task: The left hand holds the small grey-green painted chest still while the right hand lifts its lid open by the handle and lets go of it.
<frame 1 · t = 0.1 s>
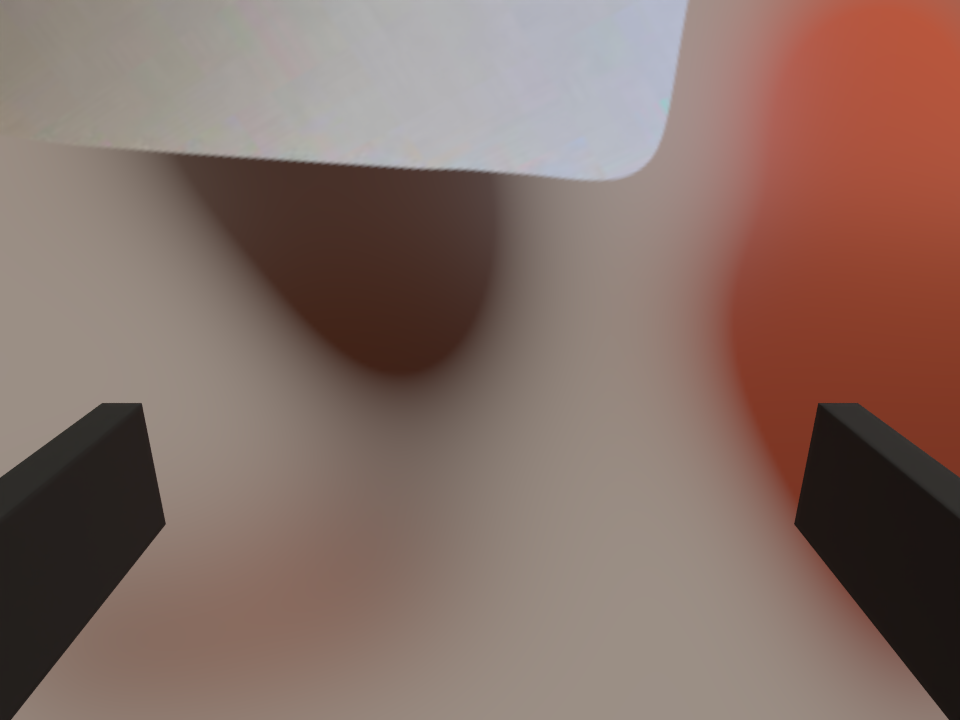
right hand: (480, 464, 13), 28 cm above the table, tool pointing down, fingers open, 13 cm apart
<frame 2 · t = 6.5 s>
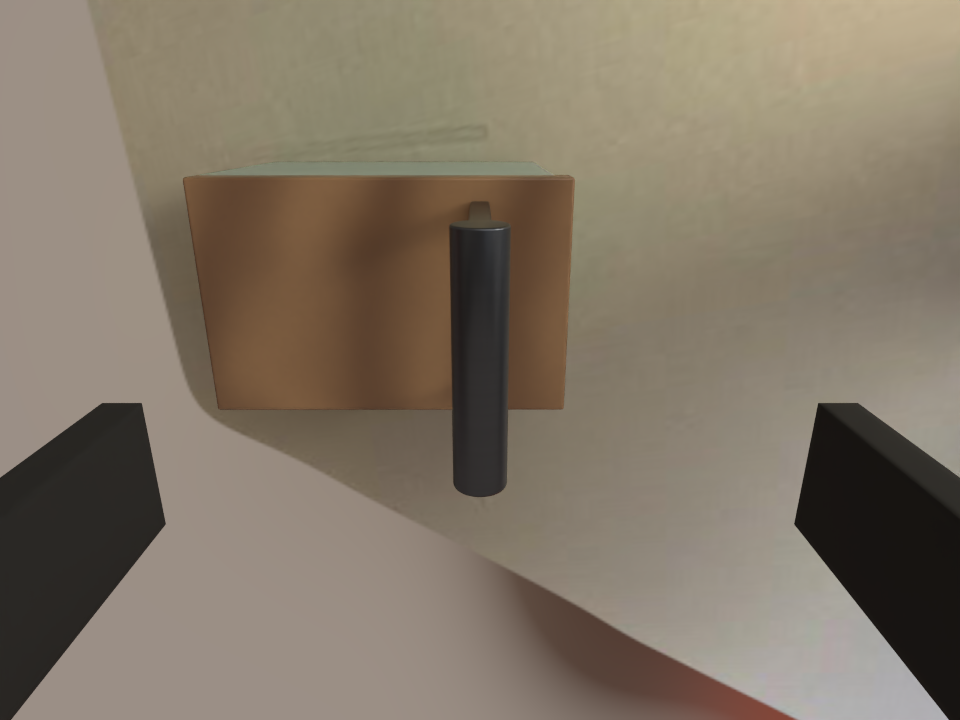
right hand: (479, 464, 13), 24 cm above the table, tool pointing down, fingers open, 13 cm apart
lid: (371, 325, 21), point 14 cm above the table, hinge at 0.0°
chest: (407, 249, 35), on the table
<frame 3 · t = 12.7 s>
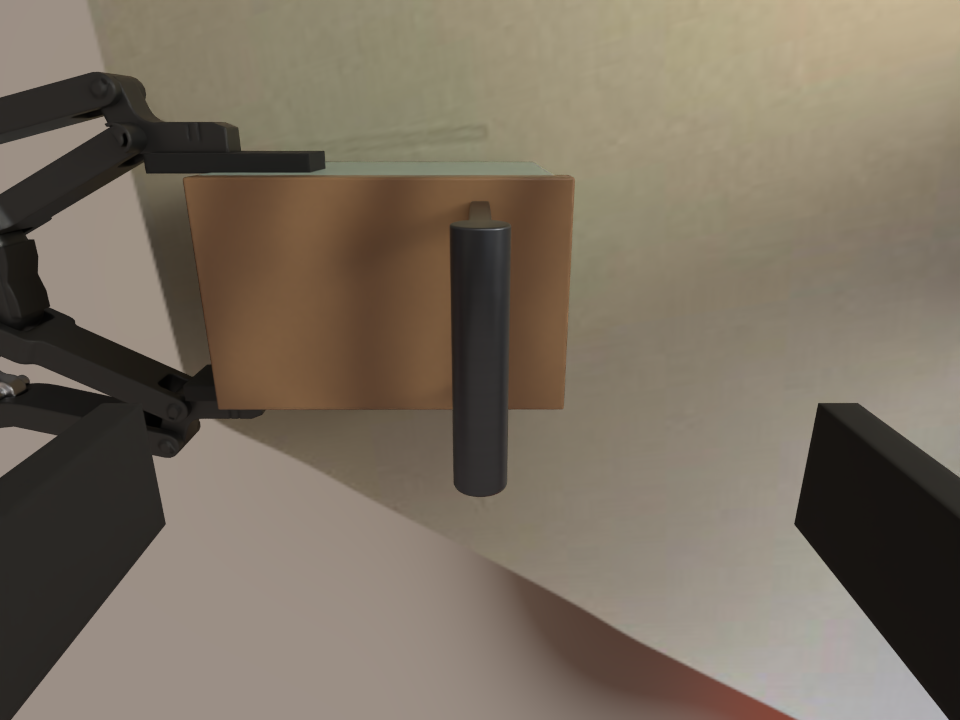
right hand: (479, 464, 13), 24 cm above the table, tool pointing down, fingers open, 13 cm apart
lid: (372, 325, 21), point 14 cm above the table, hinge at 0.0°
chest: (407, 249, 35), on the table, touching left hand
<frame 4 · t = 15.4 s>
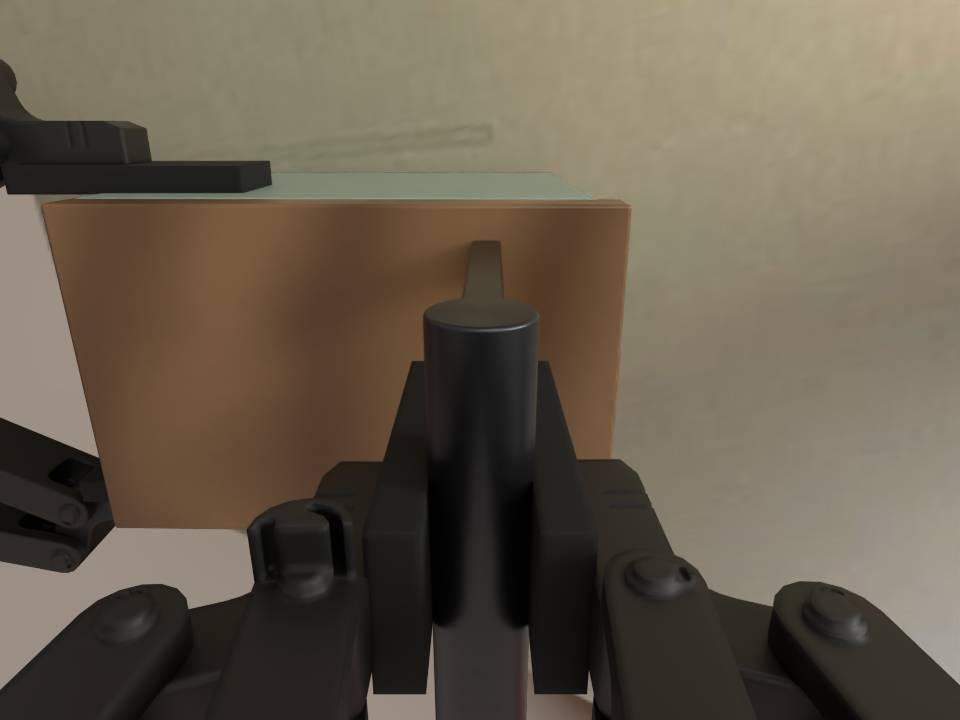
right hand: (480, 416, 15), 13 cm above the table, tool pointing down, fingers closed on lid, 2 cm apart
lid: (314, 439, 14), point 14 cm above the table, hinge at 1.6°, touching right hand
chest: (390, 284, 27), on the table, touching left hand
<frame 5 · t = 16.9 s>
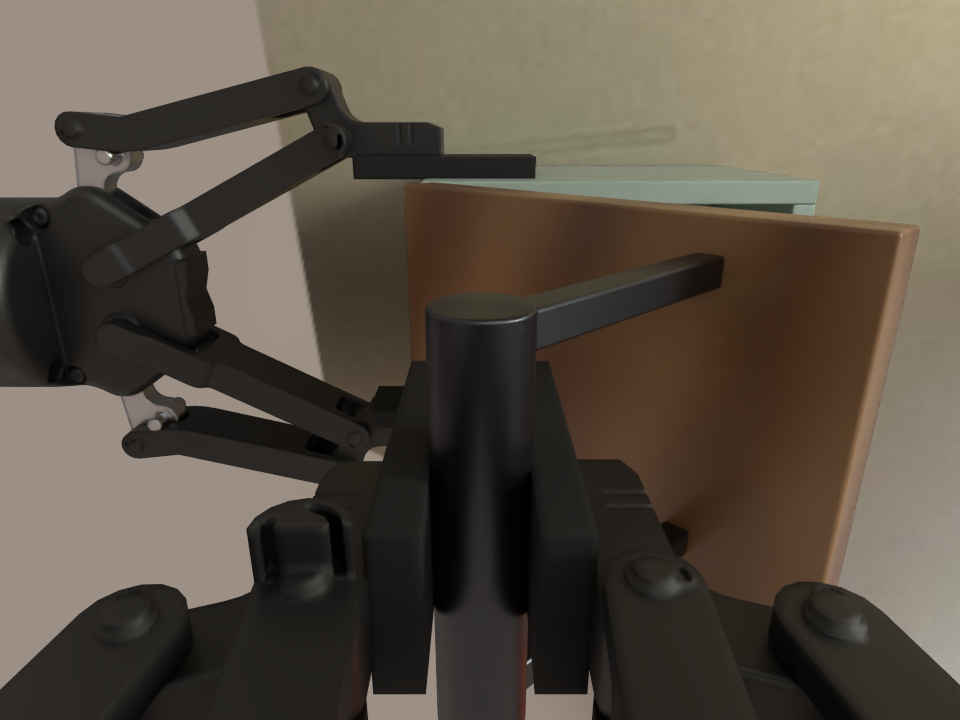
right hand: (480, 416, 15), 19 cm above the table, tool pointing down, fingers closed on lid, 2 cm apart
left hand: (529, 293, 26), fingers closed on chest, 9 cm apart
lid: (485, 406, 15), point 18 cm above the table, hinge at 46.0°, touching right hand
chest: (574, 259, 32), on the table, touching left hand
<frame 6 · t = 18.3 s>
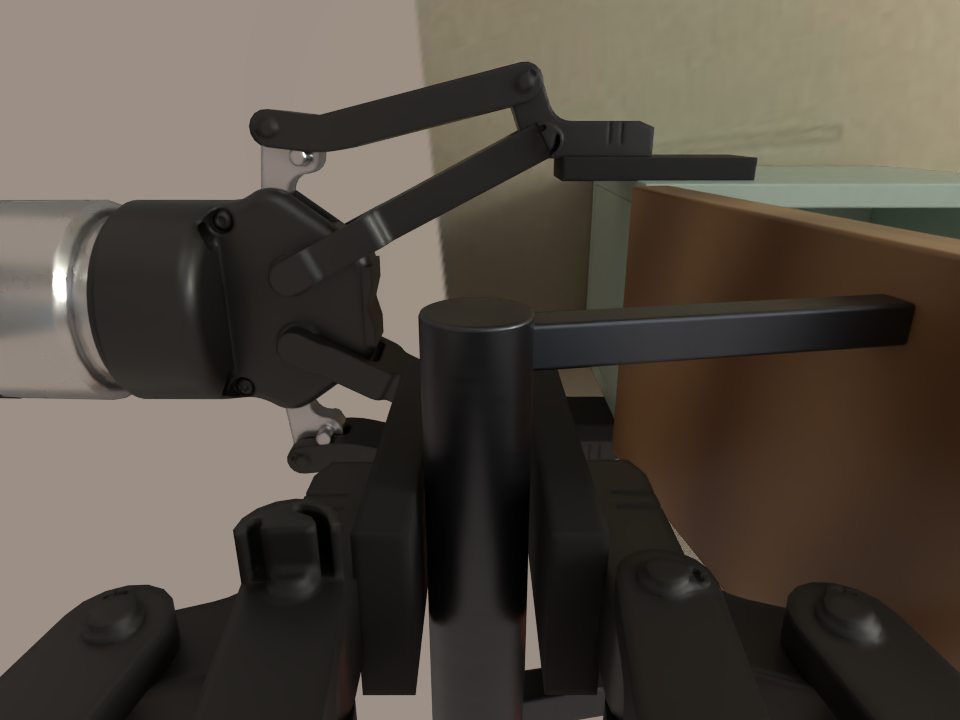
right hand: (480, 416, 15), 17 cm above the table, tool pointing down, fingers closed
left hand: (722, 301, 24), fingers closed on chest, 9 cm apart
lid: (608, 428, 14), point 18 cm above the table, hinge at 79.3°
chest: (727, 264, 31), on the table, touching left hand
when the left hand's fingers open (7 cm above the table, at t = 22.6 s): chest stays where it is, on the table.
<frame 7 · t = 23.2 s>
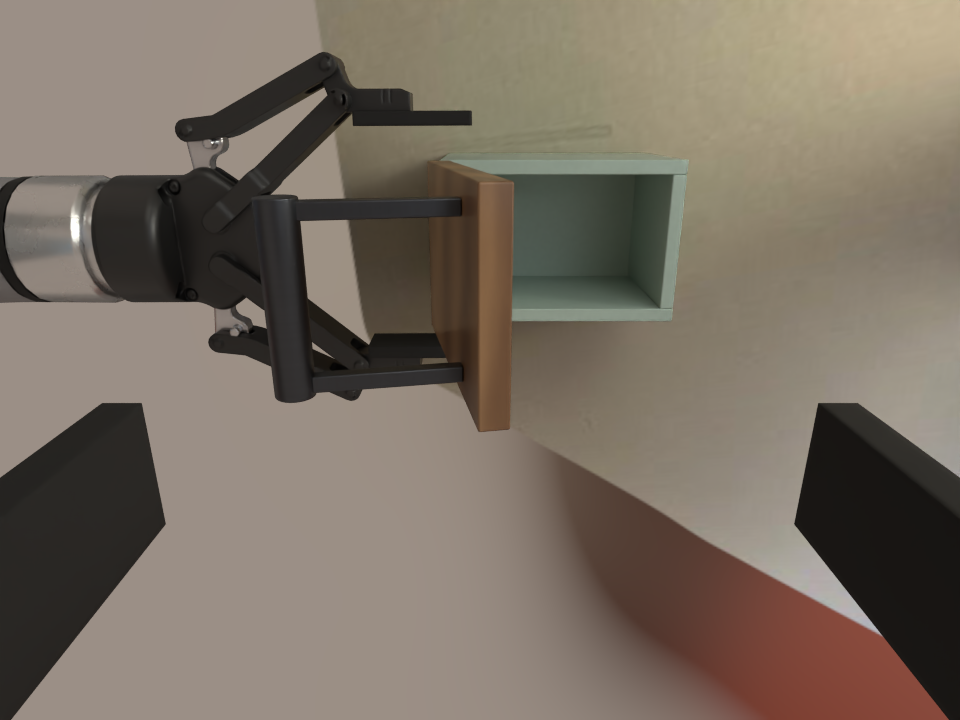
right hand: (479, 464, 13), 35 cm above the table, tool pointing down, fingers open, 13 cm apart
left hand: (473, 238, 39), fingers open, 13 cm apart
lid: (377, 276, 28), point 18 cm above the table, hinge at 78.7°
chest: (544, 220, 45), on the table
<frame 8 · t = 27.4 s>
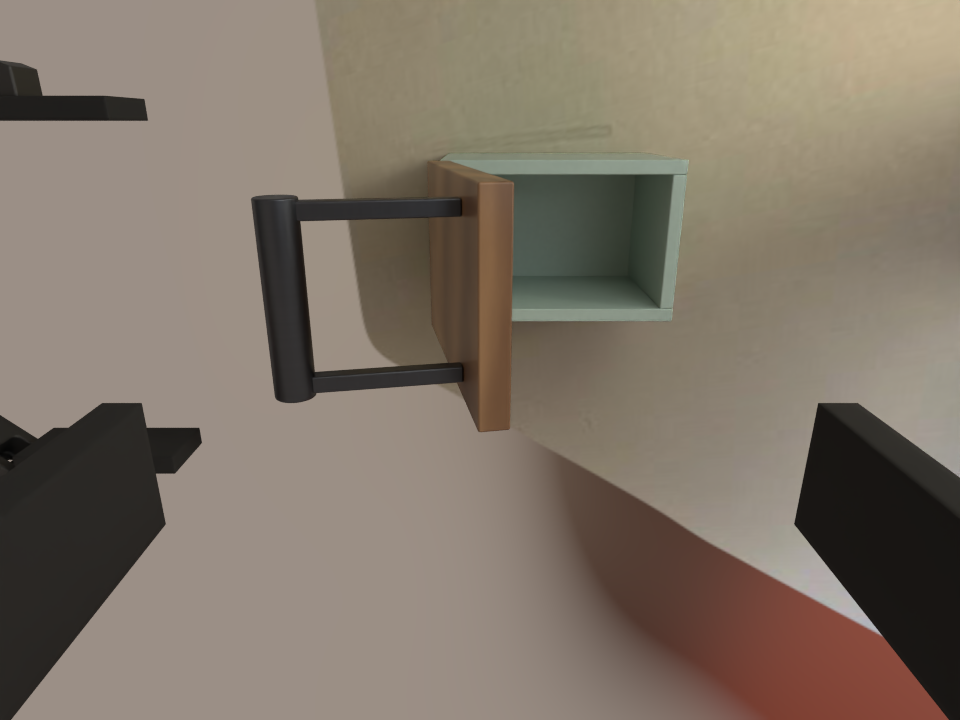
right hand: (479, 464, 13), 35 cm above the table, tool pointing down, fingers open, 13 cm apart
lid: (377, 276, 28), point 18 cm above the table, hinge at 78.7°
chest: (544, 220, 45), on the table
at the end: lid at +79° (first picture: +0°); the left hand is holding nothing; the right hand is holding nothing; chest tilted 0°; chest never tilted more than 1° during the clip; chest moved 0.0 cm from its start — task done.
